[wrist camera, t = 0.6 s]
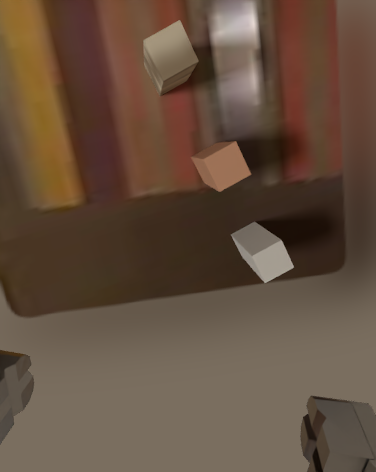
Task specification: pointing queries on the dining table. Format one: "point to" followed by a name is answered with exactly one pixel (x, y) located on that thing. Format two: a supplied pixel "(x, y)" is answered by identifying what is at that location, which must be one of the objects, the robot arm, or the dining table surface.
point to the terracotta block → (221, 165)
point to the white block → (262, 251)
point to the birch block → (169, 58)
